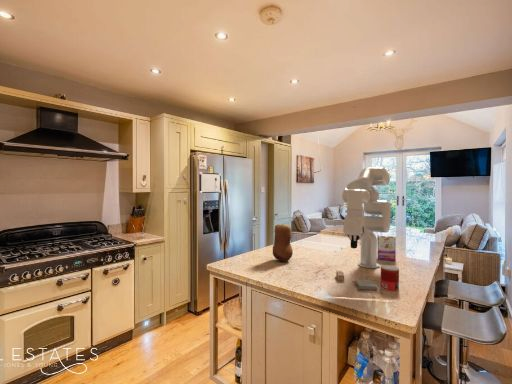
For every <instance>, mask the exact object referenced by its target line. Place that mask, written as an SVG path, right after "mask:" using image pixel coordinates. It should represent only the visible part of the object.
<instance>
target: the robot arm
mask: <svg viewBox="0 0 512 384" xmlns="http://www.w3.org/2000/svg"><path fill="white" fill-rule="evenodd" d="M390 177H391V176H390V174H389V172H388V171H387V169H386V168H385V167H382V166H376V167H375V166H374V167H373V166H372V167H365V168H362V170H361V171H360V173H359V175H358V178H357V179H354V180H353V181H351V182H349V183H347V184H346V185H345V186H344V189H343V190H342V195H341V198H342V201H343V202H345V203H346V205H347V206H346V210H345V211H344V212H345V213H346V215H345V217H344V221H343V228H342V229H343V230H342V232H343V234H344V236H346V237H348V239H349V241H350V249H358V241H359V240H360V260H359V261H358V262H357V265H358V266H360V267H361V268H367V269H377V268H380V263H378V262H377V261H378V258H377V235H376V234H375V232H376V233H388V232H389V230H390V229H391V214H392V210H391V209H392V206H391V203H390V201H388V200H386V199H385V200H381V199H380V198H379V197H380V194H379V191H378V190H377V189H376V188H375V186H379V187H381V186H387V185H389V183H390V180H391V179H390ZM379 199H380V200H379ZM363 213H364V214H366V215H364V216H363Z"/></svg>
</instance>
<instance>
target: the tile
mask: <svg viewBox="0 0 512 384" xmlns="http://www.w3.org/2000/svg"><path fill="white" fill-rule="evenodd" d="M355 281H356V284H357V285H358V287H359V289H368V290H377V287H378V285H377V284H376V283H375V282H374V280H370V279H360V278H358V279H355ZM375 284H376V285H375Z"/></svg>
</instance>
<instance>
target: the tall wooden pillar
mask: <svg viewBox="0 0 512 384" xmlns="http://www.w3.org/2000/svg"><path fill="white" fill-rule="evenodd" d="M335 274H336V275H335V276H336V279H337V281H338V282H345V274H344V272H343V271H342V270H337V269H336V272H335Z"/></svg>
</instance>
